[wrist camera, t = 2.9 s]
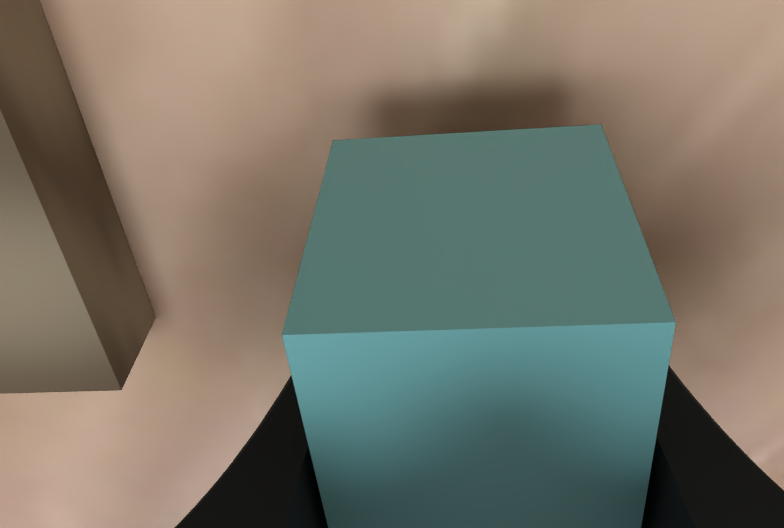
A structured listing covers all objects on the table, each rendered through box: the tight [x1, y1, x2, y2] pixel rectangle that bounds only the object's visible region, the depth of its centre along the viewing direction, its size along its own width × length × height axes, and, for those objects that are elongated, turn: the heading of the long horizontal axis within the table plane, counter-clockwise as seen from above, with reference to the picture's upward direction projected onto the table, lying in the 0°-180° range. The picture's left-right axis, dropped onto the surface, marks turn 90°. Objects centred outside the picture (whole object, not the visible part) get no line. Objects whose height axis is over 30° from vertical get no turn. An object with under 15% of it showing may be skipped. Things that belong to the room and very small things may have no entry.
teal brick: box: [282, 124, 676, 528], centre depth 13 cm, size 8×4×5 cm, turn 5°
